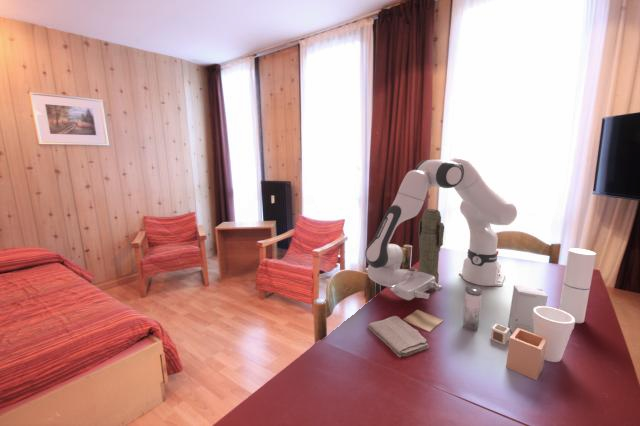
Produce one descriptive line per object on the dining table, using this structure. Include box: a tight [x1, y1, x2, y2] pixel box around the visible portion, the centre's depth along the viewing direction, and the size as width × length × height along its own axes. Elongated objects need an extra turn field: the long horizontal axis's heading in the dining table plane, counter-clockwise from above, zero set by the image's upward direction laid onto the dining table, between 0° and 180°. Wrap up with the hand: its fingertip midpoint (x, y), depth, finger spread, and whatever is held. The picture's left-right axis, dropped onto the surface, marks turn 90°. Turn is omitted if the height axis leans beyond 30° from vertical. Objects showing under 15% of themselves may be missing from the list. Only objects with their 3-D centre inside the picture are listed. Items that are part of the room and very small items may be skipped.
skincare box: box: [507, 284, 549, 334], centre depth 97 cm, size 8×6×15 cm
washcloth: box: [367, 315, 430, 358], centre depth 95 cm, size 12×18×3 cm, turn 25°
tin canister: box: [462, 285, 483, 332], centre depth 99 cm, size 5×5×14 cm
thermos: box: [417, 208, 445, 292], centre depth 129 cm, size 9×12×35 cm
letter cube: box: [489, 322, 511, 346], centre depth 94 cm, size 4×4×4 cm
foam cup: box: [533, 305, 576, 363], centre depth 85 cm, size 10×9×13 cm
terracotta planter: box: [505, 328, 548, 381], centre depth 81 cm, size 7×7×9 cm
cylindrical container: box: [558, 247, 597, 324], centre depth 104 cm, size 7×7×25 cm
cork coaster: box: [402, 309, 444, 333], centre depth 105 cm, size 10×10×1 cm
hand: (435, 292), depth 109 cm, fingers open, 8 cm apart
